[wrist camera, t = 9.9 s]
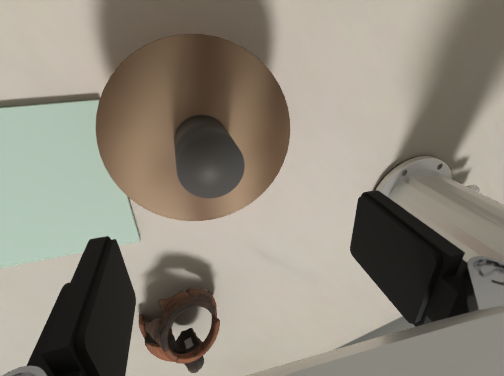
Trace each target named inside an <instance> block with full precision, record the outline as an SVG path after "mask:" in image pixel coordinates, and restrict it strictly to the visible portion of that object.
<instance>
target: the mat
mask: <svg viewBox="0 0 504 376" xmlns="http://www.w3.org/2000/svg"><path fill="white" fill-rule="evenodd" d="M99 100H100V99H96V100H84V101H72V102H60V103H48V104H36V105H24V106H12V107H0V268H4V267H9V266H15V265H20V264H25V263H30V262H35V261H41V260H46V259H51V258H56V257H62V256H67V255H72V254H77V253H82V252H84V250H85V248H86V246H87V243H88V241H89V240H90V239H94V238H99V237H105V236H109V237H110V238H111V240H113V239H116V240H117V243H118V246H119V245H124V244H129V243H135V242H140V235H139V232H138V228H137V225H136V222H135V218H134V215H133V211H132V208H131V205H130V201H129V198H128V196H127V195H126V194H125V193H124V192H123V191H122V190H121V189H120V188H119V187H118V186H117V185H116V183H115V182H114V181H113V180H112V178H111V177H110V175H109V173H108V171H107V170H106V168H105V166H104V164H103V161H102V159H101V156H100V153H99V149H98V145H97V139H96V129H95V128H96V114H97V109H98V104H99Z"/></svg>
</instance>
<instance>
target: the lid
mask: <svg viewBox="0 0 504 376" xmlns="http://www.w3.org/2000/svg"><path fill="white" fill-rule="evenodd" d="M95 129H96V139H97V145H98V149H99V153H100V156H101V159H102V161H103V164H104V166H105V168H106V170H107V171H108V173H109V175H110V177H111V178H112V180H113V181H114V182H115V183H116V185H117V186H118V187H119V188H120V189H121V190H122V191H123V192H124V193H125V194H126V195H127V196H128V197H129V198H130V199H132V200H133V201H134V202H135V203H137V204H138V205H140V206H142V207H143V208H145V209H147V210H149V211H151V212H153V213H155V214H158V215H161V216H164V217H167V218H171V219H177V220H184V221H204V220H211V219H216V218H220V217H224V216H226V215H229V214H232V213H234V212H236V211H238V210H240V209H242V208H244V207H245V206H247V205H249V204H250V203H252V202H253V201H254V200H255V199H257V198H258V197H259V196H260V195H261V194H262V193H263V192H264V191H265V190H266V189H267V188H268V187H269V186H270V184H271V183H272V182H273V180H274V179H275V177H276V176H277V174H278V173H279V171H280V169H281V166H282V164H283V162H284V159H285V156H286V154H287V149H288V145H289V138H290V118H289V112H288V107H287V104H286V100H285V97H284V95H283V92H282V90H281V88H280V86H279V84H278V82H277V81H276V79H275V78H274V76H273V74H272V73H271V72H270V71H269V70H268V68H267V67H266V66H265V65H264V64H263V63H262V62H261V61H260V60H259V59H258V58H257V57H255V56H254V55H253V54H251V53H250V52H249V51H247V50H246V49H244V48H242V47H240V46H238V45H236V44H234V43H232V42H230V41H227V40H224V39H221V38H218V37H214V36H208V35H203V34H183V35H175V36H170V37H166V38H163V39H159V40H156V41H154V42H152V43H150V44H148V45H145V46H143V47H142V48H140V49H139V50H137V51H136V52H134V53H133V54H131V55H130V56H129V57H128V58H127V59H126V60H125V61H124V62H122V63H121V64H120V65H119V67H118V68H117V69H116V70H115V72H114V73H113V74H112V75H111V77H110V79H109V81H108V82H107V84H106V86H105V87H104V90H103V92H102V95H101V98H100V100H99V104H98V109H97V114H96V128H95Z"/></svg>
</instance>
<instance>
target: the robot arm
mask: <svg viewBox="0 0 504 376" xmlns="http://www.w3.org/2000/svg"><path fill="white" fill-rule="evenodd" d="M350 251H351V254H352V256H353V257H354V258H355V259H356V261H357V262H358V263H359V264H360V265H361V267H362V268H363V269H364V270H365V271H366V273H367V274H368V275H369V276H370V277H371V278H372V280H373V281H374V282H375V283H376V284H377V286H378V287H379V288H380V289H381V290H382V292H383V293H384V294H385V295H386V296H387V298H388V299H389V300H390V301H391V302H392V303H393V305H394V306H395V307H396V308H397V309H398V311H399V312H400V313H401V314H402V315H403V317H404V318H405V319H406V320H407V321H408V322H409V323H411V324H414V325H415V327H414V328H410V329H407V330H403V331H400V332H396V333H392V334H389V335H385V336H382V337H378V338H374V339H371V340H367V341H364V342H360V343H357V344H354V345H350V346H347V347H343V348H340V349H336V350H333V351H329V352H326V353H322V354H319V355H316V356H312V357H309V358H305V359H302V360H298V361H295V362H291V363H288V364H285V365H281V366H278V367H274V368H271V369H268V370H264V371H261V372H257V373H254V374H251V375H247V376H504V205H503V204H501V203H499V202H497V201H495V200H493V199H491V198H489V197H487V196H485V195H483V194H481V193H479V187H478V186H477V185H469V186H464V185H462V184H460V183H458V182H456V181H454V180H452V174H451V170H450V168H449V166H448V165H447V164H446V163H445V162H443V161H441V160H439V159H437V158H434V157H431V156H420V157H415V158H412V159H409V160H407V161H405V162H403V163H401V164H400V165H398V166H397V167H396V168H394V169H393V170H392V171H391V172H390V173H388V174H387V175H386V176H385V177H384V179H383V180H382V181H381V182H380V184H379V185H378V187H377V188H376V190H375V191H369V192H364V193H363V194H362V195H361V197H359V199H358V203H357V209H356V216H355V222H354V228H353V234H352V240H351V246H350ZM135 305H136V297H135V292H134V290H133V287H132V284H131V281H130V278H129V275H128V272H127V269H126V266H125V263H124V260H123V257H122V254H121V251H120V248H119V246H118V243H117V240H116V239H113V240H111V238H110V237H109V236H105V237H99V238H94V239H90V240H89V241H88V243H87V246H86V248H85V250H84V253H83V255H82V257H81V260H80V262H79V264H78V267H77V269H76V271H75V273H74V276H73V278H72V280H71V283H67V284H65V285H64V286H63V288H62V289H61V292H60V294H59V296H58V298H57V300H56V303H55V305H54V307H53V309H52V311H51V314H50V316H49V318H48V320H47V322H46V325H45V327H44V329H43V331H42V333H41V335H40V338H39V340H38V342H37V344H36V346H35V349H34V351H33V353H32V355H31V357H30V360H29V362H28V364H27V366H24V367H19V368H17V369H14V370H12V371H10V372H8V373H6V374H4V375H3V376H125V373H126V366H127V360H128V353H129V346H130V339H131V332H132V325H133V318H134V312H135Z"/></svg>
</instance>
